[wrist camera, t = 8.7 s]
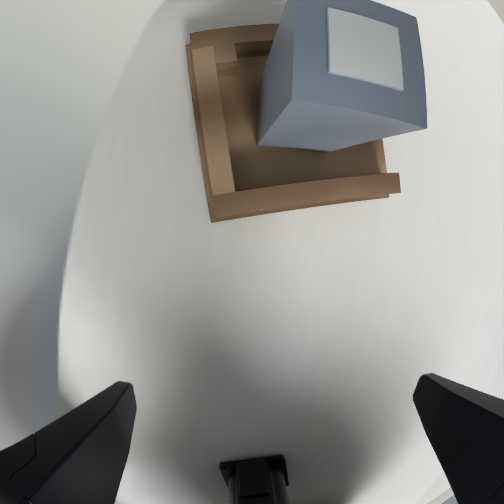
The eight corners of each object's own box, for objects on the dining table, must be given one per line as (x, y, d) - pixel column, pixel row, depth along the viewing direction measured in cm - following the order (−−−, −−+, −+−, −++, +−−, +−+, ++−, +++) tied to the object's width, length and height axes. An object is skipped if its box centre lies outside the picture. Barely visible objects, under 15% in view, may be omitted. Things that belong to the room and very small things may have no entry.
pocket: (386, 196, 19) (407, 200, 16) (211, 221, 19) (208, 228, 16) (356, 38, 16) (372, 22, 13) (186, 47, 16) (180, 28, 13)
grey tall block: (326, 152, 18) (429, 127, 7) (256, 145, 17) (293, 98, 7) (328, 89, 17) (418, 16, 6) (260, 80, 16) (295, -21, 6)
